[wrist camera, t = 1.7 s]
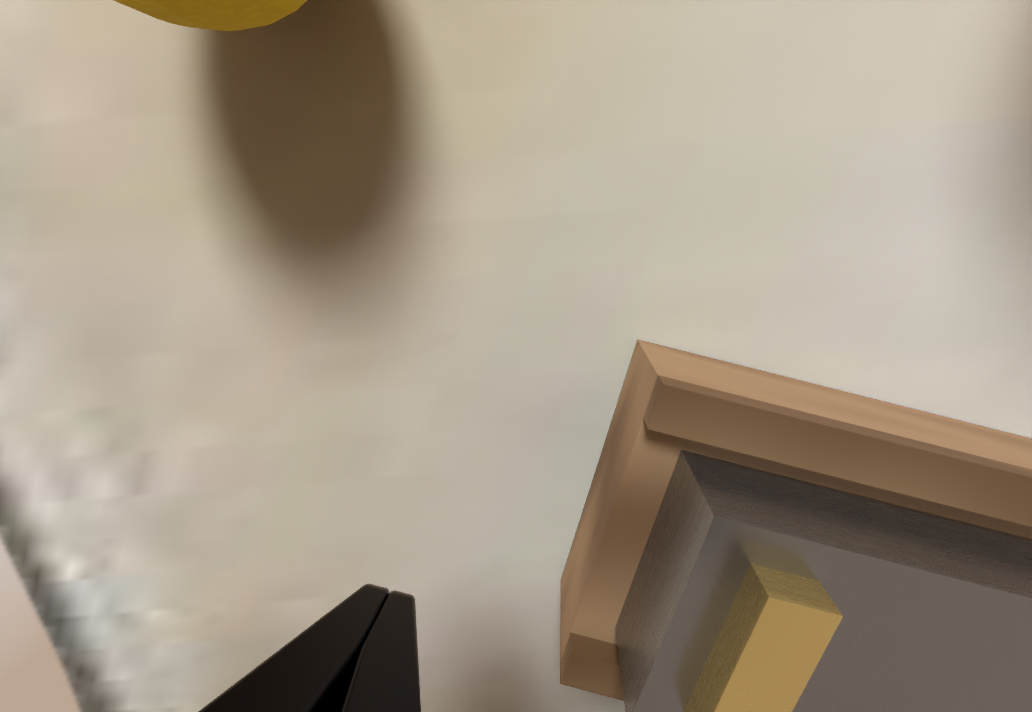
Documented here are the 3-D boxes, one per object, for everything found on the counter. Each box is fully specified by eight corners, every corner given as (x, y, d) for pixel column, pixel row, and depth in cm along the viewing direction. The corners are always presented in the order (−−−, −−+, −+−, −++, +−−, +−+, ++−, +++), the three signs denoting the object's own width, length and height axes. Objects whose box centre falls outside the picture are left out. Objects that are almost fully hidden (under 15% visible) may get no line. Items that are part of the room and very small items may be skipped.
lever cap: (935, 711, 12) (1064, 885, 9) (615, 627, 12) (632, 768, 9) (1044, 542, 11) (1243, 679, 8) (681, 449, 11) (728, 546, 8)
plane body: (1036, 704, 15) (1171, 846, 12) (560, 580, 16) (560, 683, 12) (1198, 480, 13) (1424, 577, 10) (637, 339, 13) (663, 384, 10)
